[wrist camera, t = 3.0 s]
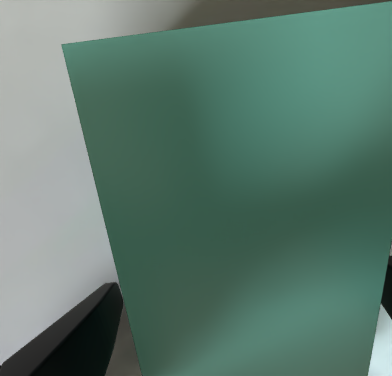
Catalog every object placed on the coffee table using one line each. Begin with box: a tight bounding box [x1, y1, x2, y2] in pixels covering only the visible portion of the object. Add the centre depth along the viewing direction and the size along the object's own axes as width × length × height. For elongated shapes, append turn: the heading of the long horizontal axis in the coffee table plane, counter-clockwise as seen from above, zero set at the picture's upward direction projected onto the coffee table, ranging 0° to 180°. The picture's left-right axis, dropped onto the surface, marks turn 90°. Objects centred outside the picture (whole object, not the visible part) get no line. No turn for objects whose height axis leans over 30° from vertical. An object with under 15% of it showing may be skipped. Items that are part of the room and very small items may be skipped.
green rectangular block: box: [61, 1, 392, 376], centre depth 8 cm, size 14×6×4 cm, turn 6°
